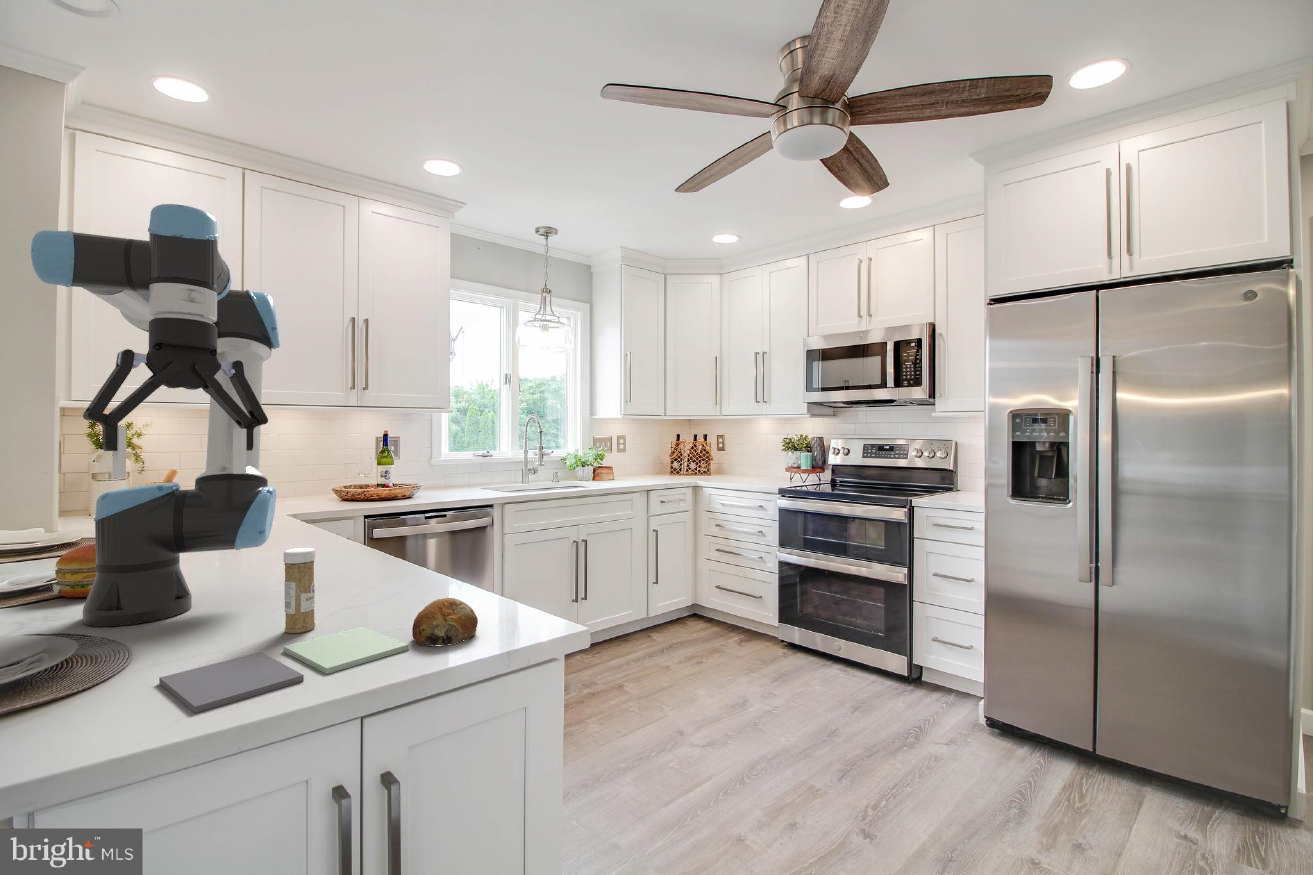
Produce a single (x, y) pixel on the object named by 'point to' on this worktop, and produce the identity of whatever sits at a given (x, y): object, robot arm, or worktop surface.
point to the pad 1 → (229, 681)
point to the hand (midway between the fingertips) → (183, 475)
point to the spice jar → (299, 590)
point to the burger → (76, 572)
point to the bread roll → (444, 623)
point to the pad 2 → (345, 649)
